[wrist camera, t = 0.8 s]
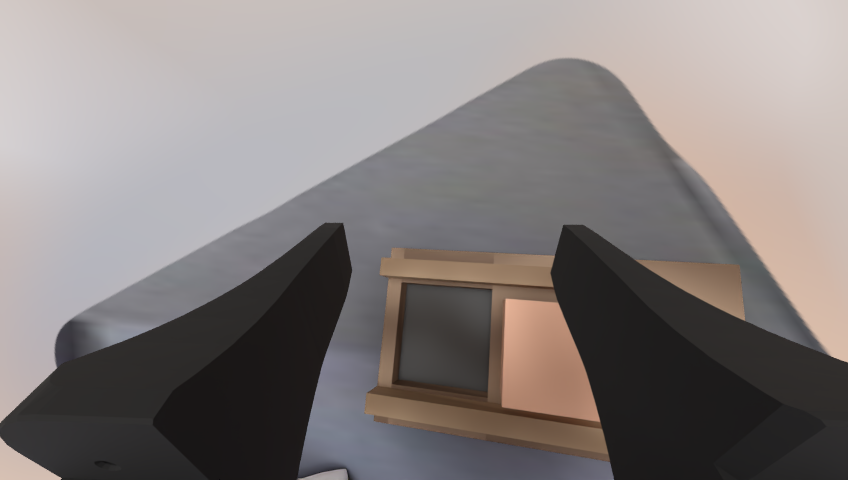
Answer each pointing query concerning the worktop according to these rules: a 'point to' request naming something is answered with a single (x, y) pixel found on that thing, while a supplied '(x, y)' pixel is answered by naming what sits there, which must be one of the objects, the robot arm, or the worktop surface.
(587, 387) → the terracotta block
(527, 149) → the worktop surface
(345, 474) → the juice carton
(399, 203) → the worktop surface
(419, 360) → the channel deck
